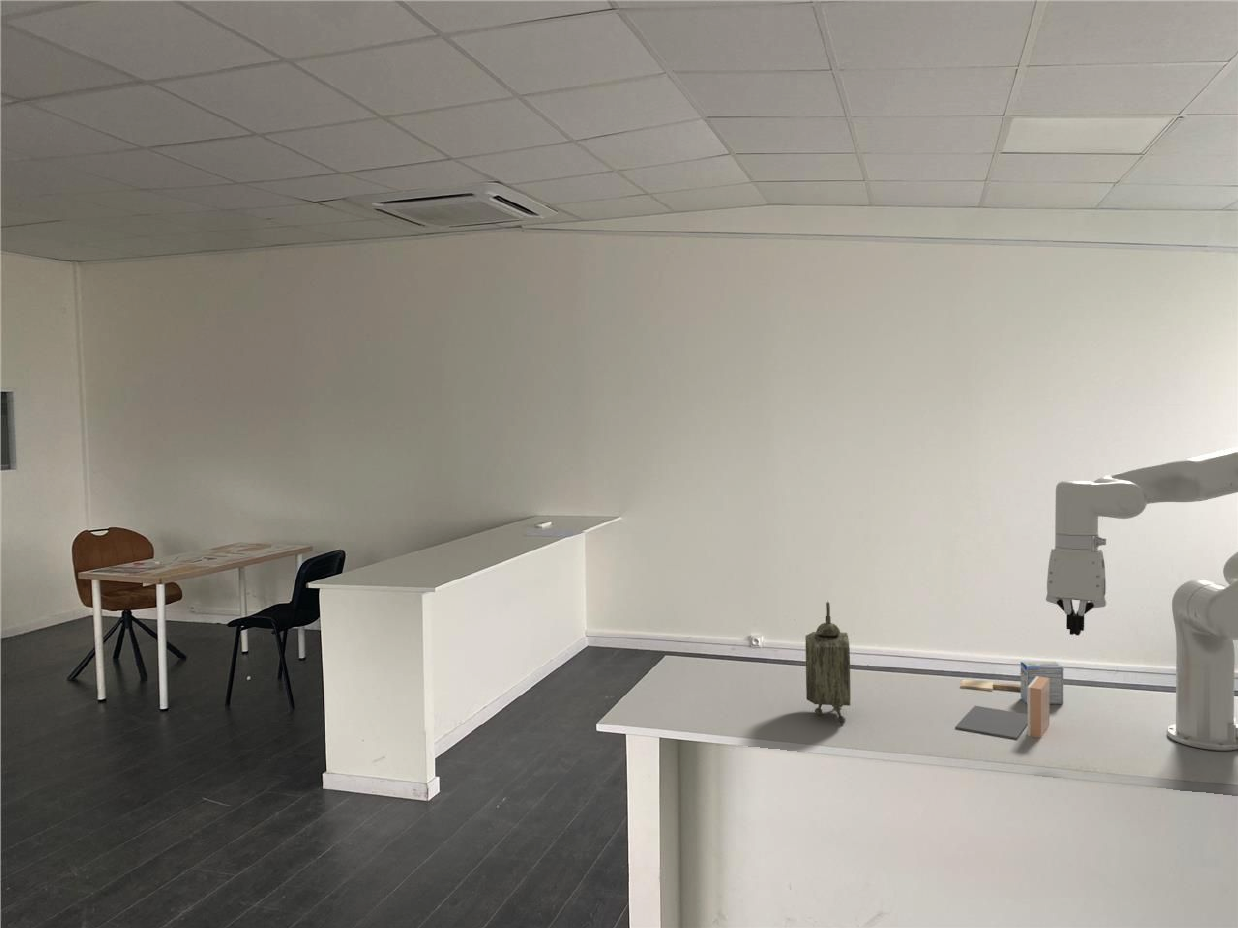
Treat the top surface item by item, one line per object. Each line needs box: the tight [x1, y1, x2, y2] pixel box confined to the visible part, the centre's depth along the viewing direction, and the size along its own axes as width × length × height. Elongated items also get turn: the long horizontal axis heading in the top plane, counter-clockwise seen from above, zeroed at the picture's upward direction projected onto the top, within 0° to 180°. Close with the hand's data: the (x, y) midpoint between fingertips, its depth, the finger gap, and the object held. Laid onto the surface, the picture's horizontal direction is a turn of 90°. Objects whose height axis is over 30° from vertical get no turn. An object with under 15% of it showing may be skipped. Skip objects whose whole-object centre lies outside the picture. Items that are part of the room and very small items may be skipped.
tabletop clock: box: [804, 601, 851, 725], centre depth 192 cm, size 14×9×25 cm, turn 168°
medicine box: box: [1020, 661, 1064, 705], centre depth 198 cm, size 8×4×9 cm, turn 84°
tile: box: [1026, 676, 1050, 739], centre depth 180 cm, size 2×9×10 cm, turn 144°
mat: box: [954, 705, 1028, 740], centre depth 186 cm, size 12×16×1 cm
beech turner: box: [960, 679, 1021, 692], centre depth 209 cm, size 17×6×1 cm, turn 64°
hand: (1075, 633), depth 176 cm, fingers closed
